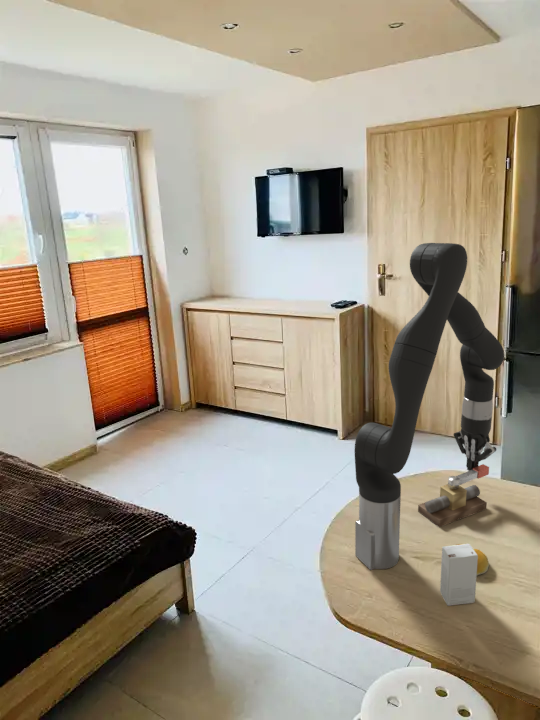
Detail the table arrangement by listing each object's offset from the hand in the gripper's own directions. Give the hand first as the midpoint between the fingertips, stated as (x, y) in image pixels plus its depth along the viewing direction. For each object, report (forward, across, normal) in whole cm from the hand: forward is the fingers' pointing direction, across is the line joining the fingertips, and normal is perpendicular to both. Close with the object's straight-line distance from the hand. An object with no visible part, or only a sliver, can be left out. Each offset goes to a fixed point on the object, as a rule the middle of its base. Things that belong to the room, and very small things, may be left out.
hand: (472, 470), depth 153 cm
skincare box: (+6, +27, -34) cm, 44 cm away
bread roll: (+7, +20, -24) cm, 32 cm away
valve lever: (0, +3, -5) cm, 6 cm away
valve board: (+7, +3, -10) cm, 13 cm away
